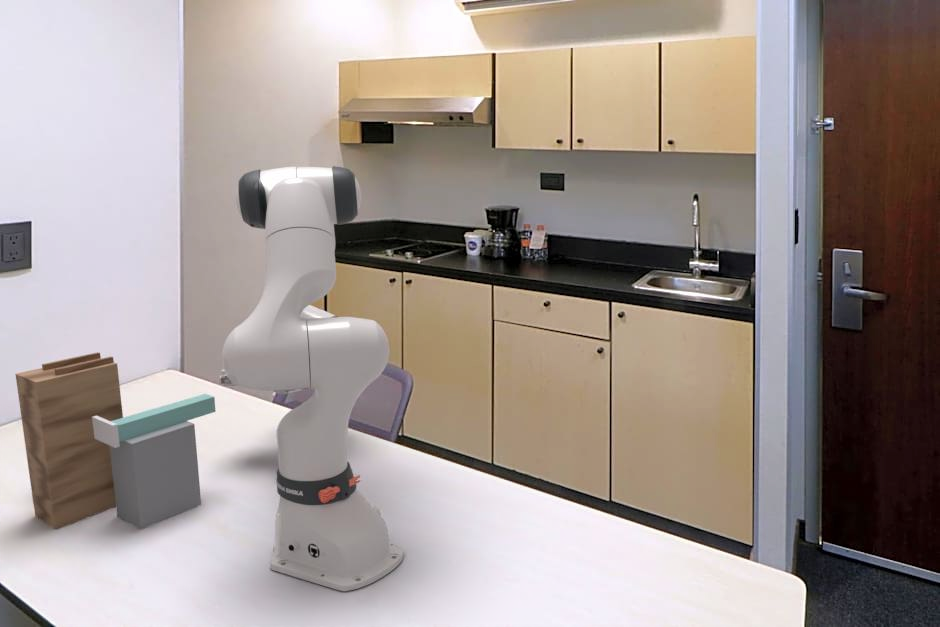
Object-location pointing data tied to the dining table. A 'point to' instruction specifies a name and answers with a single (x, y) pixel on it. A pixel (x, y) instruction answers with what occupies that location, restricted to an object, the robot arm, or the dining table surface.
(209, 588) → the dining table surface
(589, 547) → the dining table surface
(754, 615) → the dining table surface
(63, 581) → the dining table surface
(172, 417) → the scraper
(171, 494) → the upright gray brick
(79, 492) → the upright wood-grain block
